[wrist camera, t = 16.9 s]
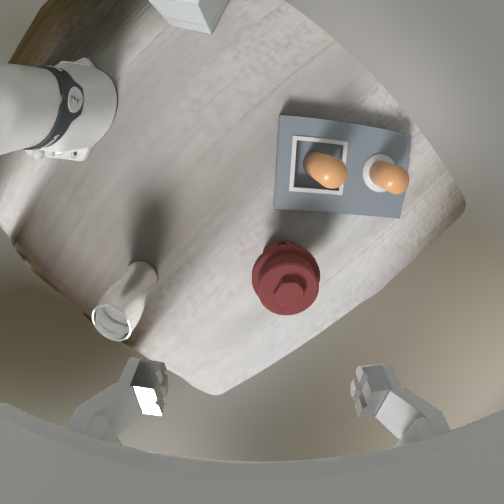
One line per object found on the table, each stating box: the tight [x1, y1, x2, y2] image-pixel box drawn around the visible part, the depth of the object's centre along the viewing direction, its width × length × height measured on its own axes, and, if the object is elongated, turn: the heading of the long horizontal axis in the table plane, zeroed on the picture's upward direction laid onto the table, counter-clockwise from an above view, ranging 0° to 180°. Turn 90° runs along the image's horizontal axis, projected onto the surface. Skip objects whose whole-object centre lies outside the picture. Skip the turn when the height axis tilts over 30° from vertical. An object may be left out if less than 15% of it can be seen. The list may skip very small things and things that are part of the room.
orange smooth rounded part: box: [303, 151, 347, 189], centre depth 38 cm, size 4×4×9 cm
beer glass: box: [92, 261, 157, 341], centre depth 44 cm, size 7×7×15 cm
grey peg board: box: [273, 115, 411, 218], centre depth 39 cm, size 21×14×9 cm, turn 88°
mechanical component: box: [252, 241, 320, 315], centre depth 44 cm, size 12×10×10 cm
